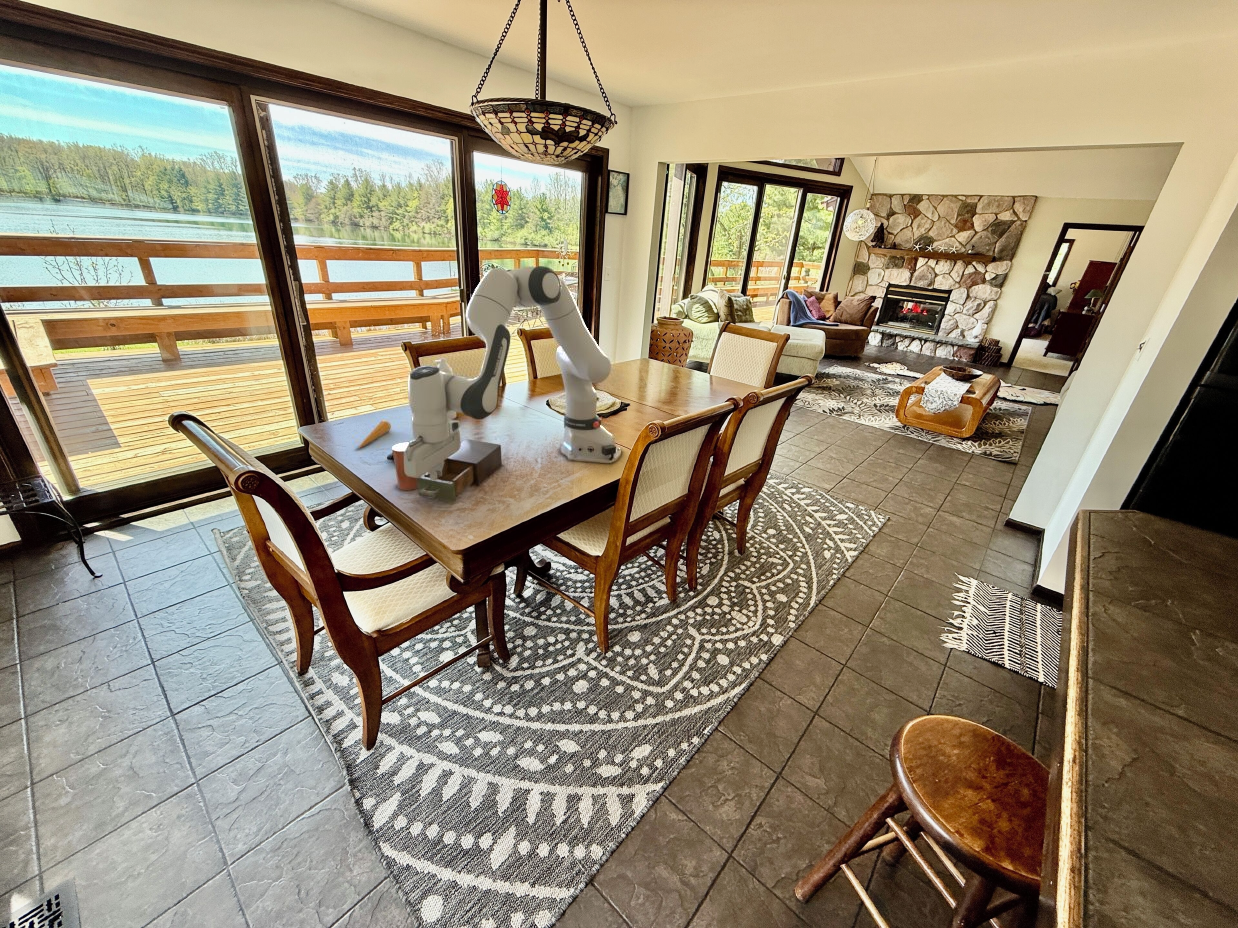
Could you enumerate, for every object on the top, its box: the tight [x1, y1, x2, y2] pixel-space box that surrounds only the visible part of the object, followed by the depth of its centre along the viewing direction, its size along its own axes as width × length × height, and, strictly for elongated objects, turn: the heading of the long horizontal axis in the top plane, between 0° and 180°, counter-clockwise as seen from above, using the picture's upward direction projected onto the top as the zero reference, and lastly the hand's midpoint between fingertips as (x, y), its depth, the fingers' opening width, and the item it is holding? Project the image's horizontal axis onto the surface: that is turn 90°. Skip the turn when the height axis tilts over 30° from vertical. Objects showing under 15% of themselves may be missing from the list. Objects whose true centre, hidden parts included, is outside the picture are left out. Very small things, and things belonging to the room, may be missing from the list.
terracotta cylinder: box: [391, 442, 418, 491], centre depth 145 cm, size 6×6×13 cm
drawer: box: [416, 460, 475, 503], centre depth 143 cm, size 19×12×6 cm, turn 165°
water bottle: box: [434, 357, 457, 420], centre depth 195 cm, size 9×6×25 cm
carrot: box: [357, 420, 392, 450], centre depth 176 cm, size 20×4×4 cm, turn 174°
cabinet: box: [444, 438, 503, 487], centre depth 157 cm, size 16×13×8 cm
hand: (436, 477), depth 130 cm, fingers closed
